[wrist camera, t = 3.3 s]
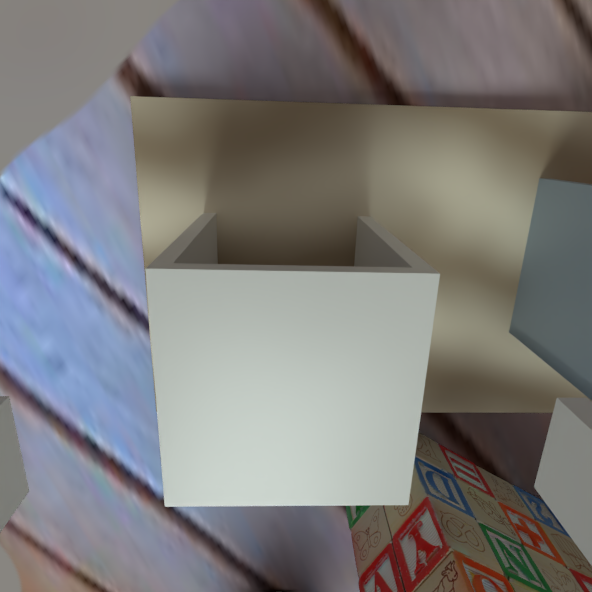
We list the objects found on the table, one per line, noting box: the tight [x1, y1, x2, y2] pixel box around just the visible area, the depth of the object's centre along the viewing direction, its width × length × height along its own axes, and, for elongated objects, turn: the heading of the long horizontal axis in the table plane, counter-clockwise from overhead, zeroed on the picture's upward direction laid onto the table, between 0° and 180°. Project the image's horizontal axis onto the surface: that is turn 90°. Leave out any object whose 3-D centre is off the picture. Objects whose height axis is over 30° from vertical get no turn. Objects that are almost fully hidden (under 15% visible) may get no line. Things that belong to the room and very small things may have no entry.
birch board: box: [130, 96, 592, 413], centre depth 23 cm, size 16×30×1 cm, turn 88°
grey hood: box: [145, 213, 440, 507], centre depth 18 cm, size 8×8×10 cm
